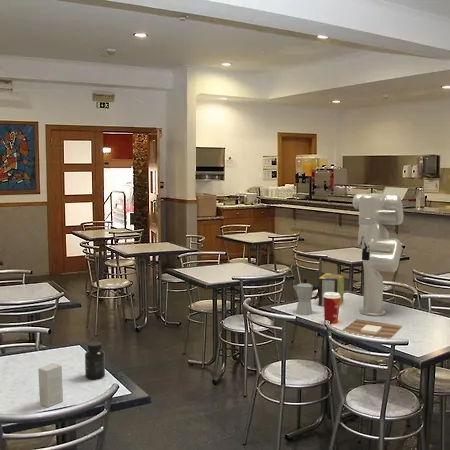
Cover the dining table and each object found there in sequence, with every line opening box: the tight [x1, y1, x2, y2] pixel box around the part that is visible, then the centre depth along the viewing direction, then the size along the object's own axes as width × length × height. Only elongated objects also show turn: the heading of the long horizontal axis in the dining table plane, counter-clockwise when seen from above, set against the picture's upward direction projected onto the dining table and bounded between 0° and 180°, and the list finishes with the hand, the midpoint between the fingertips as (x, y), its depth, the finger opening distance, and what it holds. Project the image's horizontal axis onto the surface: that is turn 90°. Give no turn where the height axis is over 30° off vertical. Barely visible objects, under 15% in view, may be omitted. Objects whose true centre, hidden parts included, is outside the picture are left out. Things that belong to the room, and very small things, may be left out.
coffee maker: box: [292, 277, 322, 316], centre depth 289 cm, size 15×9×18 cm, turn 83°
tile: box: [361, 325, 382, 335], centre depth 254 cm, size 2×7×9 cm
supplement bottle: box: [84, 341, 106, 381], centre depth 201 cm, size 7×7×12 cm
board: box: [341, 318, 403, 340], centre depth 258 cm, size 24×22×1 cm
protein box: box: [318, 272, 345, 307], centre depth 308 cm, size 10×15×16 cm
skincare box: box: [37, 362, 64, 408], centre depth 179 cm, size 6×4×12 cm
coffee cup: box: [323, 292, 340, 325], centre depth 269 cm, size 8×8×15 cm
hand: (365, 259), depth 267 cm, fingers closed
